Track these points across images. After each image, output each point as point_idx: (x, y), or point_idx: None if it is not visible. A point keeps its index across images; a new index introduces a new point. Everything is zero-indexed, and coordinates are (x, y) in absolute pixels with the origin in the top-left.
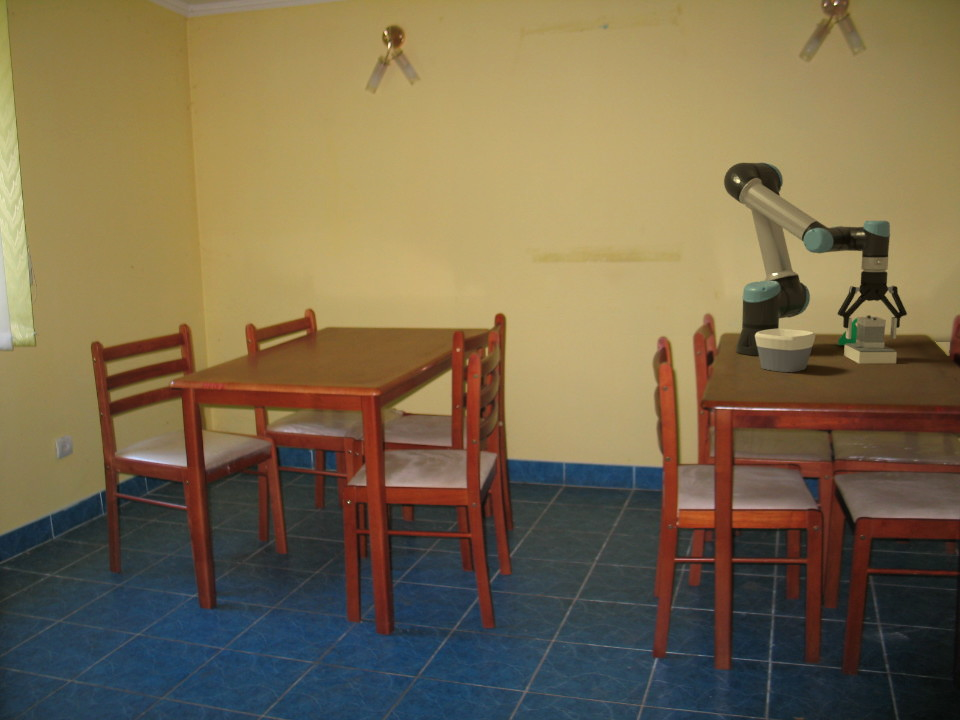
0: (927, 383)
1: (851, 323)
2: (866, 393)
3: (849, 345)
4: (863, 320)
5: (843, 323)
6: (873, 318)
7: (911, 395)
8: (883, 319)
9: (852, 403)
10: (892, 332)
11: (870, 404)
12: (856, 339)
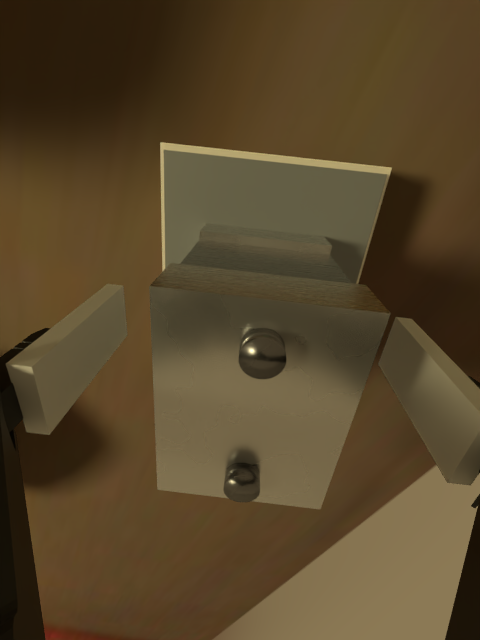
0: (244, 569)
1: (74, 400)
2: (95, 598)
3: (165, 230)
4: (158, 443)
5: (17, 350)
6: (229, 491)
7: (167, 614)
8: (324, 481)
9: (60, 627)
10: (399, 369)
11: (85, 632)
12: (200, 235)
